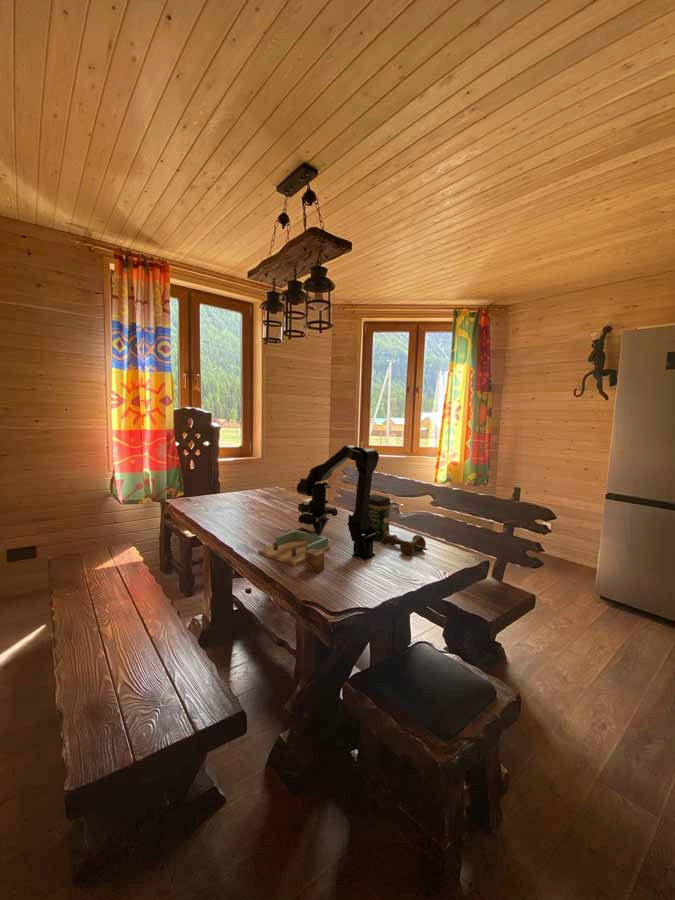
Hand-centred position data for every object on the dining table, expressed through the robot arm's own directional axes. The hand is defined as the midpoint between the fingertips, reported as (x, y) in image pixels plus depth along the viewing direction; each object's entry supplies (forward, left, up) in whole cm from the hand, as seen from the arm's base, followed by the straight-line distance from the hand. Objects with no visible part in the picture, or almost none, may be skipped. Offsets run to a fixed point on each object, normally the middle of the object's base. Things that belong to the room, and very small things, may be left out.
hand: (318, 535), depth 151 cm
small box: (+13, -12, -3) cm, 18 cm away
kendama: (-32, -14, -3) cm, 35 cm away
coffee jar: (-17, -18, -3) cm, 25 cm away
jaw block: (-16, +22, -2) cm, 27 cm away
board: (0, +14, -2) cm, 14 cm away
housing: (0, +10, -1) cm, 10 cm away
